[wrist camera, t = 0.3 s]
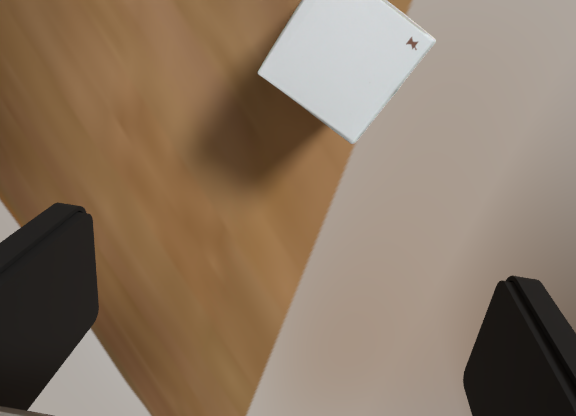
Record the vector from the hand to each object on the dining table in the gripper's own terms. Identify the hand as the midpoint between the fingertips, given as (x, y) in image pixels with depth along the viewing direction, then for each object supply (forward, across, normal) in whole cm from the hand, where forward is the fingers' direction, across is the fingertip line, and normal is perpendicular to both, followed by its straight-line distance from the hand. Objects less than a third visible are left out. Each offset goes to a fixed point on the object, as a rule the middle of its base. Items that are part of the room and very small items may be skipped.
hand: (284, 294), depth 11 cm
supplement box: (+31, -1, -3) cm, 31 cm away
